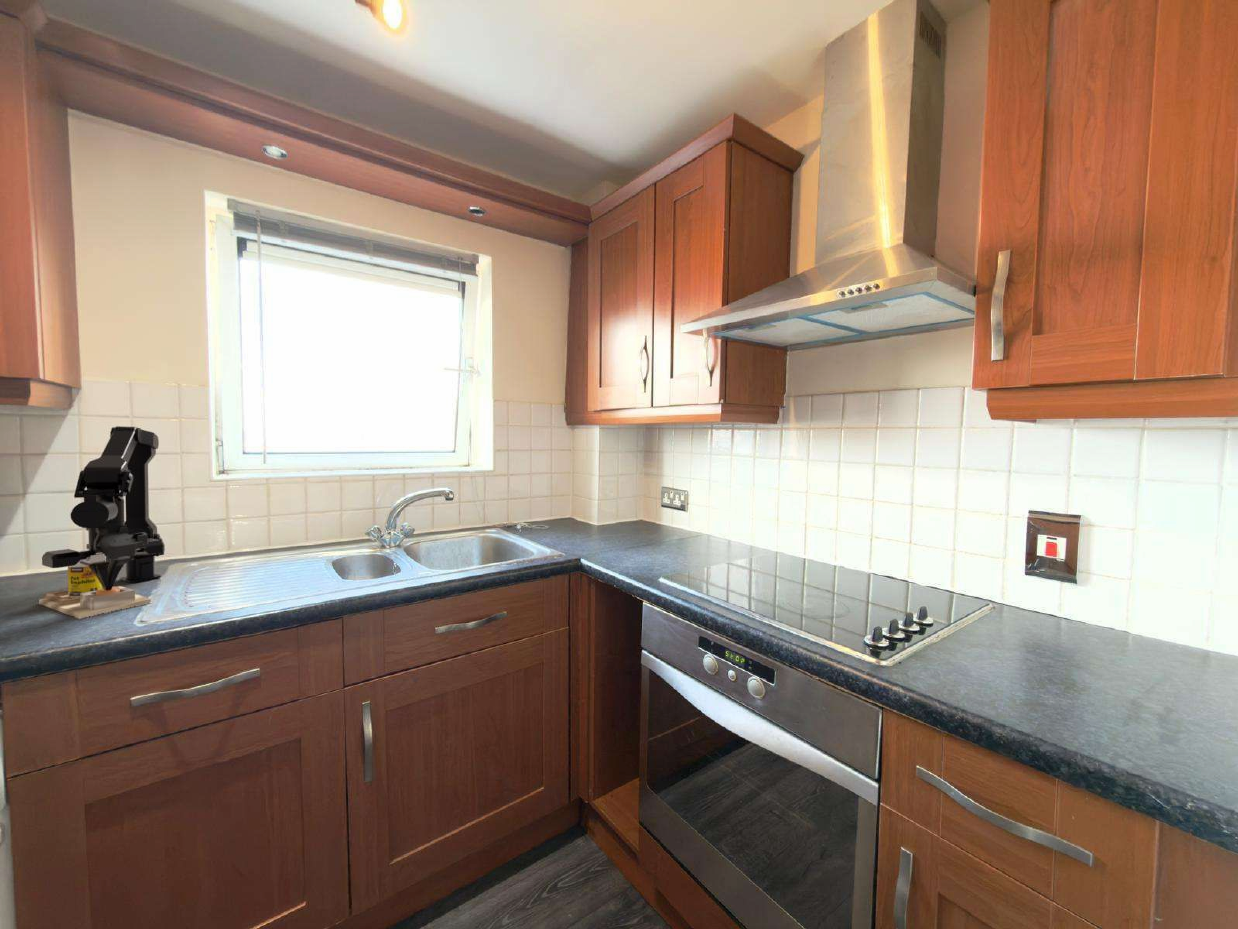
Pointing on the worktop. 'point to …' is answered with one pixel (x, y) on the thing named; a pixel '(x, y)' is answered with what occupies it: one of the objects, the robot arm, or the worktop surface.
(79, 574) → the supplement bottle
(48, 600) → the pallet
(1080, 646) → the worktop surface
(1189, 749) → the worktop surface
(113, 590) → the button
